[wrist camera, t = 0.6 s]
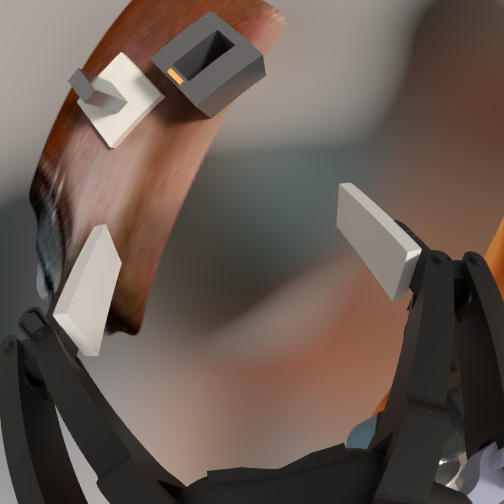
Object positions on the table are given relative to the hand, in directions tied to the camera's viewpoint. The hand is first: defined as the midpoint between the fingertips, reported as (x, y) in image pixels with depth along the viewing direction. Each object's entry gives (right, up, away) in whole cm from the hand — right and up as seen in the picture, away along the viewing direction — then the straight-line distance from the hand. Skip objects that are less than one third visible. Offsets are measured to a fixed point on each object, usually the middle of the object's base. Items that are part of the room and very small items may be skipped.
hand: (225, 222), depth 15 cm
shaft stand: (-17, +20, +18) cm, 32 cm away
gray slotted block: (-3, +21, +16) cm, 27 cm away
